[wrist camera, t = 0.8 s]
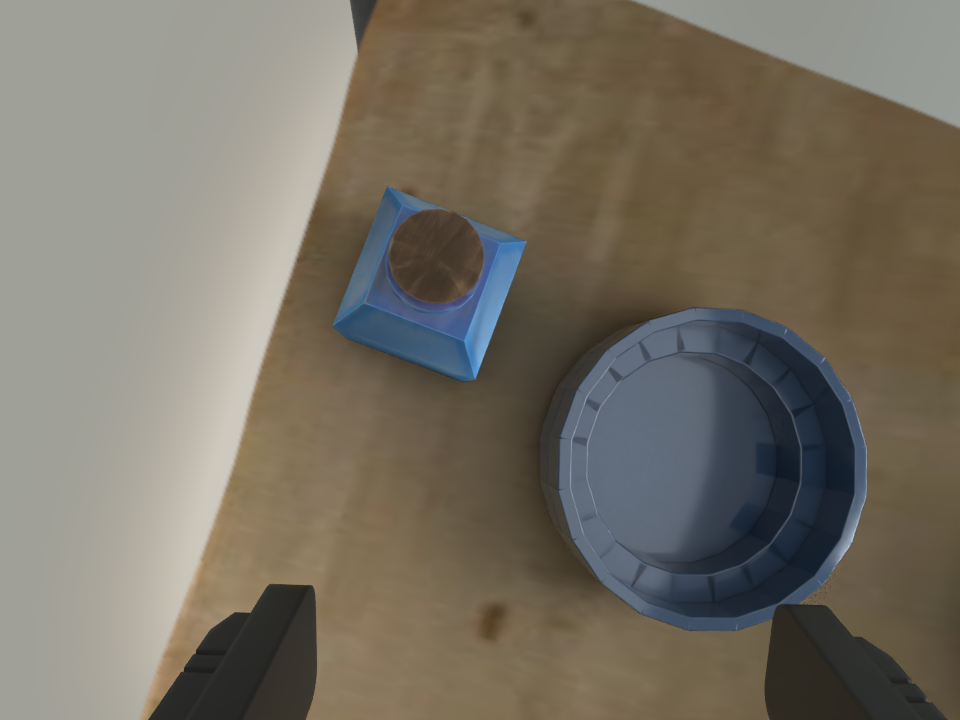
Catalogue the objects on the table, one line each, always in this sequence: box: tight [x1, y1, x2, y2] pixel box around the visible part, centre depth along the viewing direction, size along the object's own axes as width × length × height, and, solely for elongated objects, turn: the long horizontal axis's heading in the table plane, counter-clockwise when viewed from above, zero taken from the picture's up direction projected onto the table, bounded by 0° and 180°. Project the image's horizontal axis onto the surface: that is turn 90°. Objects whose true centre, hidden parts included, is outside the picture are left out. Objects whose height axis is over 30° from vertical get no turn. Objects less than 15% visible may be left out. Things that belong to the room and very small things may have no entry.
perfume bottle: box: [333, 186, 527, 382], centre depth 29 cm, size 6×6×12 cm
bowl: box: [539, 307, 867, 631], centre depth 33 cm, size 14×14×5 cm
